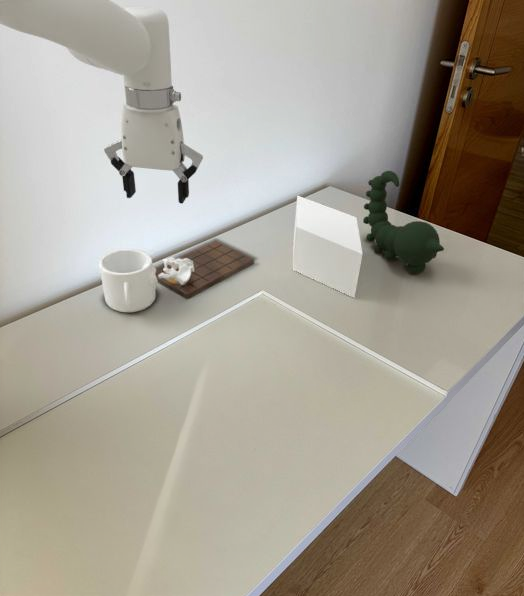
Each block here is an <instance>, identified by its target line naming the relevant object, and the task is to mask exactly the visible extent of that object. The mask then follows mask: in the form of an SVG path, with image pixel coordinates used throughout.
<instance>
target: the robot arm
mask: <svg viewBox="0 0 524 596" xmlns="http://www.w3.org/2000/svg"><path fill="white" fill-rule="evenodd" d="M0 25H3V26H5V27H6V28H9V29H13V30H14V31H16V32H21V33H24V34H26V35H31V36H34V37H37V38H40V39H44V40H47V41H48V42H52V43H55V44H56V45H57V44H58V45H60V46H62V47H65V48H66V49H67V50H68V52H69V53H70V54H71V55H72V56H73V57H74V58H75V59H76V60H77V61H79V62H81V63H83V64H86V65H89V66H92V67H95V68H98V69H100V70H101V69H102V70H105V71H108V72H111V73H113V74H115V75H120V76H123V84H124V93H125V103H124V104H123V105H122V112H121V139H119V140H116V141H115V142H112V143H111V144H108V145H107V146H105V147H104V149H103V151H104V153H105V155H106V156H107V158H108V159H109V160H110V164H111V165H112V167H114V169H116V171H118V174H119V176H120V177H121V178H122V187H123V192H125V195H126V198H127V199H131V198H132V197H133V196H134V195H135V194H136V193H137V192H136V191H137V187H136V181H135V180H136V179H135V172H134V171H133V170H132V168H139V169H149V170H150V169H151V170H159V171H171V172H173V173H174V174H175V176H177V178H178V179H179V180H178V181H177V197H178V198H177V199H178V203H179V204H184V203H185V201H186V199H188V198H189V196H190V184H189V179H190V178H191V177H193V175H194V174H196V172H197V171H198V169H199V168H200V165H201V163H202V162H203V160H204V156H203V154H202V153H200V152H198V151H196V150H195V149H193V148H192V147H190V146H188V145H187V144H185V139H184V131H183V123H182V119H181V113H180V109H179V106H178V105H176V104H174V103H176V102H181V101H182V93H181V92H180V91H176V90H175V89H174V85H172V84H173V83H172V64H171V63H172V61H171V43H170V26H169V18H168V15H167V13H166V12H165V11H164V10H162V9H160V8H157V7H151V6H127V7H121V6H120V5H119V4H117V3H115V2H114V1H112V0H0ZM121 149H122V158H123V159H121V157H119V156H118V153H117V151H119V150H121ZM186 158H189V159H190V160H191V161H192V163H191V165H190V166H189V167H187V166H186V164H185V163H184V162H185V159H186Z"/></svg>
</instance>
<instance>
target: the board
mask: <svg viewBox="0 0 524 596" xmlns="http://www.w3.org/2000/svg"><path fill="white" fill-rule="evenodd" d="M178 258H179V259H185V258H188V259H190V260H192V261H193V265H194V266H193V267H194V272H191V276H190V278H189V280H188V281H187V282H186V283H185V284H184V285H180V283H179V282H177V281H175V280H174V279H164V278H159V277H158V275H159V274H161V273H164V274H166V273H165V272H164V271H163V269H164V268H165V266H164V264H162V265H160V266H158V267H155V268H156V273H155V275H156V277H157V280H158V282H157V284H160V285H162V286H163V287H165V288H167V289H169V290H170V291H173V292H174V293H176V294H177V295H178V296H181V297H183V298H184V299H186V300H189V299H190V298H192V297H194V296H196V295H198V294H200V293H201V292H203V291H205V290H207V289H209V288H211V287H213V286H215V285H216V284H218V283H221V282H222V281H224V280H225V279H228V278H230V277H232V276H233V275H235V274H237V273H239V272H241V271H243V270H244V269H246V268H248V267H250V266H252V265H254V264H255V258H253V257H251V256H249V255H247V254H245V253H243V252H241V251H239V250H237V249H234V248H232V247H231V246H228V245H226V244H224V243H222V242H220V241H218V240H214V241H212V242H210V243H207V244H205V245H203V246H201V247H198V248H197V249H195V250H193V251H190V252H188V253H186V254H184V255H182V256H179V257H177V258H175V260H176V259H178ZM167 268H168V269H171V268H172V267H171V266H170V265H167ZM175 271H177V272H178V271H179V268H177V269H176V270H175Z"/></svg>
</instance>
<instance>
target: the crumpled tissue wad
mask: <svg viewBox="0 0 524 596" xmlns="http://www.w3.org/2000/svg"><path fill="white" fill-rule="evenodd" d="M177 258H178V259H177ZM177 258H175V257H172V256H171V257H167V258H163V260H162V263H163V264H162V265H164V266H165V268H164V269H163V271H164V272H165V273H166V274H164V273H161V274H159V275H158V277H159V278H164V279H174V280H175V281H177V282H179V283H180V285H184V284H185V283H186V282H187V281H188V280H189V278H190V276H191V272H194V267H193V266H194V265H193V261H192V260H190V259H188V258H185V259H179V257H177ZM175 259H176V260H175ZM167 265H170V266H171V267H172V268H171V269H168V268H167ZM177 268H179V271H178V272H177V271H175V270H176V269H177Z"/></svg>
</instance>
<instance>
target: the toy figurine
mask: <svg viewBox="0 0 524 596" xmlns="http://www.w3.org/2000/svg"><path fill="white" fill-rule="evenodd" d="M390 182H392V183H393V184H394V186H395V187H397V188H398V187H400V179H399V176H398V175H397V174H396V173H395V172H394V171H392V170H386V171H383V172H381V174H380V175H377V176H375V177H373V178H372V179H368V182H367V184H368V186H370V190H367V191H366V192H365V196H366V197H367V198H369V200H370V201H369V202H368V203H367V202H366V203H365V204H363V209H364V210H367V211H368V215H367V216H365V217H364V218H363V220H362V221H363V223H364V224H366V225H369V226H370V227H371V228H370V233H367V234H366V237H365V239H366V241H367V242H369V243H372V242H374V241H375V244H376V245H375V246H374V248H373V250H374V253H376V254H378V255H380V254H382V253H383V252H384V254H383V255H384V259H385V260H386V261H388V262H391V261H395V260H396V259H397V258H398V259H399V260H400V261H401V262H403V263H404V264H405V265H406V271H407V272H408V273H409V274H413V275H416V274H420V273H422V272H424V271H425V270H426V264H428V263H430V262H431V261H432V260H433V259H436V258H437V255H438V253H439V252H443V251H444V250H445V248H444V246H442V245H441V243H440V241H441V240H440V236H439V234H438V231H437V230H436V228H435V227H434V226H433V225H432V224H430V223H429V222H426V221H420V220H415V221H411V222H409V223H406V224H404V225H402V226H401V225H399V226H396V225H394V224H392V223H391V222H390V221H389V215H388V213H387V208H388V205H387V201H386V198H387V197H388V193H387V190H386V188H387V184H388V183H390Z"/></svg>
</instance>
